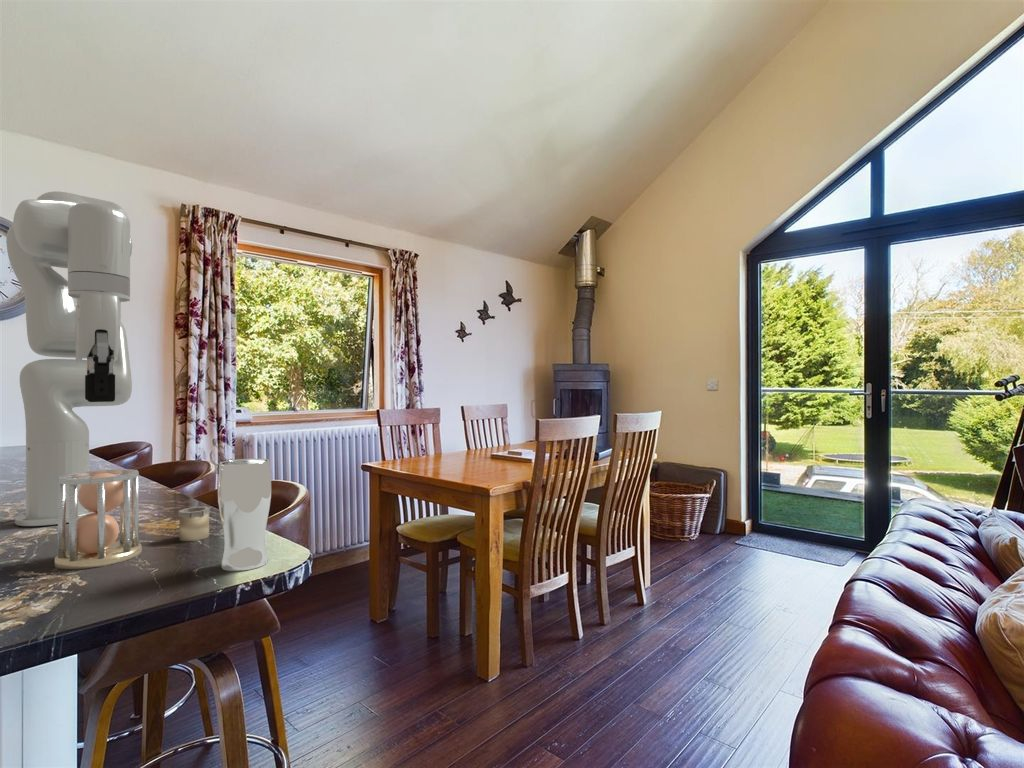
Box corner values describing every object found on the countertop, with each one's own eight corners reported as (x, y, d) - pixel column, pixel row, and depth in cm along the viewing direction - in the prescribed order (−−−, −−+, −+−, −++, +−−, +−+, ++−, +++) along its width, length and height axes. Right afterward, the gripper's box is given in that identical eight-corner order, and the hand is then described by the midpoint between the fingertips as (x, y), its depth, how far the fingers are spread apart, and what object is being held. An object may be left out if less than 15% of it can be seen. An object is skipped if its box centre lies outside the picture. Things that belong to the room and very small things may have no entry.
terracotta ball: (63, 510, 79) (89, 481, 84) (106, 526, 82) (128, 497, 86) (73, 487, 77) (99, 459, 82) (117, 504, 79) (140, 475, 84)
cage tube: (55, 556, 81) (55, 473, 81) (137, 543, 88) (137, 466, 88) (54, 574, 73) (54, 482, 73) (145, 558, 80) (145, 474, 80)
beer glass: (213, 563, 78) (213, 461, 78) (264, 553, 82) (263, 457, 82) (224, 576, 72) (223, 466, 72) (277, 565, 77) (277, 461, 77)
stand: (177, 537, 91) (177, 509, 92) (206, 532, 94) (206, 505, 94) (181, 542, 88) (181, 513, 88) (211, 537, 91) (211, 509, 91)
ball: (73, 549, 81) (62, 515, 79) (121, 534, 85) (111, 500, 83) (75, 567, 76) (63, 531, 75) (125, 550, 80) (115, 515, 78)
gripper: (67, 293, 85) (67, 400, 85) (68, 277, 72) (67, 403, 72) (125, 298, 90) (124, 399, 90) (135, 283, 77) (135, 402, 77)
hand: (99, 400), depth 81 cm, fingers open, 9 cm apart
